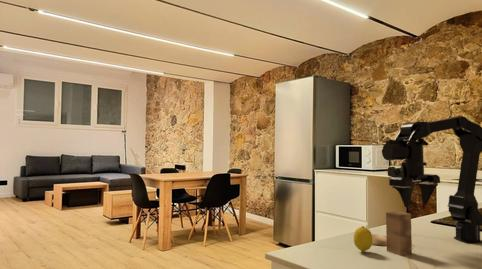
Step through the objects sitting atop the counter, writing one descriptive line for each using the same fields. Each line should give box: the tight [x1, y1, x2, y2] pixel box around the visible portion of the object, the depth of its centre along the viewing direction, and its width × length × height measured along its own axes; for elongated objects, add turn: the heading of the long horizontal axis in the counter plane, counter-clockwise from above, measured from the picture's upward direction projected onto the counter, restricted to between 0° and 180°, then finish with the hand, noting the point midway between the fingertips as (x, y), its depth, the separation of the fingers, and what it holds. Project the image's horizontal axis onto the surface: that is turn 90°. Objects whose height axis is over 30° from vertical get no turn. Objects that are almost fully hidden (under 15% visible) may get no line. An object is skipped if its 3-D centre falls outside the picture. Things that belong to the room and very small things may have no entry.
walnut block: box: [385, 210, 413, 256], centre depth 108 cm, size 5×5×12 cm
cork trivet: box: [371, 233, 387, 247], centre depth 121 cm, size 11×11×1 cm
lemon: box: [353, 225, 373, 253], centre depth 108 cm, size 6×6×8 cm
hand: (415, 206), depth 117 cm, fingers open, 9 cm apart
